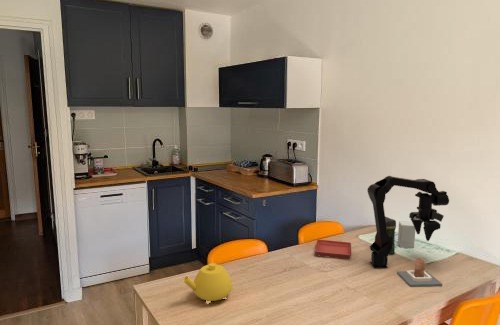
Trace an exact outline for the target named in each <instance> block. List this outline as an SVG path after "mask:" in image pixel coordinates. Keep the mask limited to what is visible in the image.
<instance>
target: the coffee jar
mask: <svg viewBox="0 0 500 325" xmlns="http://www.w3.org/2000/svg"><path fill="white" fill-rule="evenodd" d="M385 220H386V227H387V233H388V234H390V235H391V236H392V237H393V244H394V245H393V244H392V245H393V247H392V249H391V250H390V252H389V255H388V256H390V255H393V254H395V253H396V252H395V250H396V246H395V243H396V242H395V237H396V234H395V232H396V228H397V220H395V219H393V218H390V217H388V216H385Z"/></svg>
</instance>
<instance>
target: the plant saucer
mask: <svg viewBox="0 0 500 325" xmlns="http://www.w3.org/2000/svg"><path fill="white" fill-rule="evenodd" d="M352 251H353V250H352V243H351V242H348V241H338V240H337V241H336V240H327V239H326V240H325V239H317V240H316V244H315V250H314V252H315V253H316V255H318V256H319V255H320V256H319V257H325V256H329V257H328V258H335V257H338V259H346V258H347V259H349V258H350V257H351V256H352V255H353V252H352Z"/></svg>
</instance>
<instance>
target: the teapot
mask: <svg viewBox="0 0 500 325" xmlns="http://www.w3.org/2000/svg"><path fill="white" fill-rule="evenodd" d="M182 281H183V283H185V284H186V285H187V286H188V287H189V288H190V289H191V290H192V291H193V292H194V295H195V296H197V297H198V298H199V299H201V300H204V301H205V300H207V301H212V302H213V301H214V302H215V301H219V300H221V299H223V298H225V297H227V296H229V294H230V293H231V292H232V290H233V283H232V279H231V276H230V274H229V273H228V271H227V270H226V269H225V267H224V266H222V265H221V264H217V263H215V262H211V263H208V264H206V265H204V266H202V267H201V268H200V269H199V271H198V272H197V273H196V276H195V278H194V280H192V279H191V278H190V277H189V276H188V275H187V276H184V277H183V280H182Z"/></svg>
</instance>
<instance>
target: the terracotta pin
mask: <svg viewBox="0 0 500 325" xmlns="http://www.w3.org/2000/svg"><path fill="white" fill-rule="evenodd" d="M425 267H426V260H425V259H424V258H422V257H421V258H420V257H419V258H418V257H416V258H414V276H415V277H424V271H426V268H425Z"/></svg>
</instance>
